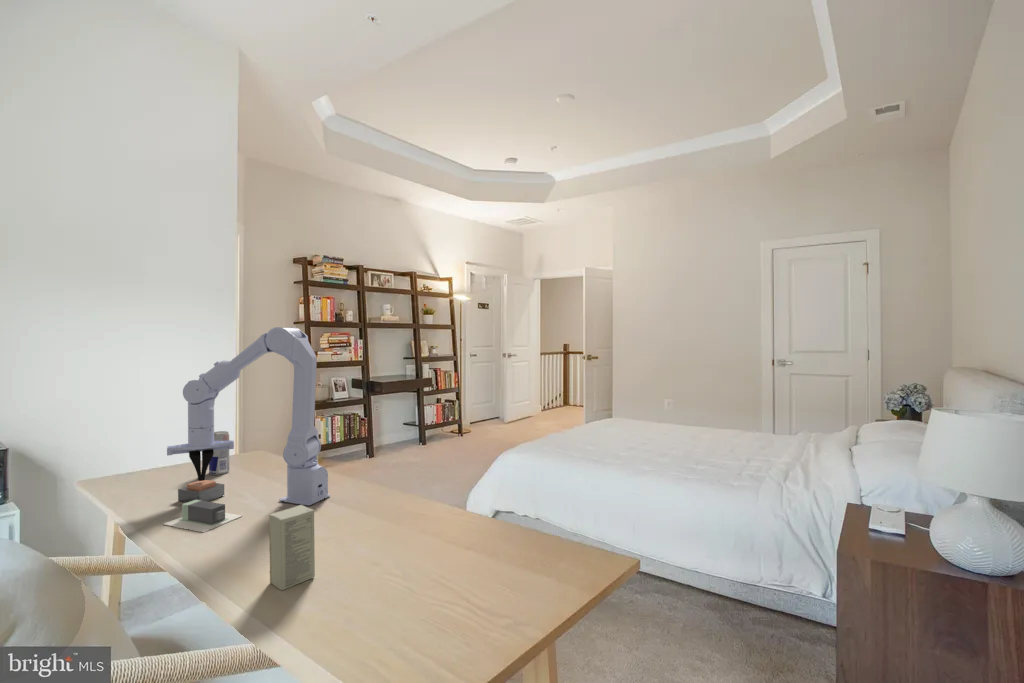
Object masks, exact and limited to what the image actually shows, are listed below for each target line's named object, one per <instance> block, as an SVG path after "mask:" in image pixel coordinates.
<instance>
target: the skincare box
mask: <svg viewBox="0 0 1024 683" xmlns="http://www.w3.org/2000/svg"><path fill="white" fill-rule="evenodd" d="M268 523H269V524H268V525H269V527H268V528H269V529H268V531H269V533H268V535H269V539H268V540H269V583H270V584H272V585H273V586H274V587H276V588H277V589H279V590H280V591H283V590H286V589H289V588H291V587H294V586H296V585H299V584H300V583H304V582H306V581H309V580H310V579H314V578H315V576H316V573H315V572H316V569H315V560H316V559H315V509H312V508H310V507H308V506H307V505H301V504H297V505H296V506H291V507H288V508H286V509H282V510H279V511H275V512H271V513H269V516H268Z"/></svg>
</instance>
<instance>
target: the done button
mask: <svg viewBox="0 0 1024 683" xmlns="http://www.w3.org/2000/svg"><path fill="white" fill-rule="evenodd" d="M216 483H217V482H216V480H210V479H209V480H208V479H205V480H204V481H198V480H197V481H194V482H190V483H187V484H186V487H187V489H192V490H198V491H201V490H204V489H207V488H210V487H213V486H216Z"/></svg>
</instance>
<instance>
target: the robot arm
mask: <svg viewBox="0 0 1024 683" xmlns="http://www.w3.org/2000/svg"><path fill="white" fill-rule="evenodd" d="M268 353H275V354H278V355H280V356H282V357H284V358H285V359H287V361H289V362H290V363H291V364H292V365H293V366H294V368H293V386H292V388H293V392H292V414H291V416H292V418H291V428H290V431H289V433H288V435H287V438H286V439H287V440H286V446H284V449H283V452H282V457H283V460H284V462H285V463H286V465H287V467H286V468H287V469H286V474H287V475H286V476H287V477H286V479H287V482H286V483H287V484H286V486H287V487H286V488H287V490H286V494H287V495H286V496H283V497H281V498H279V502H282V501H284V502H283V503H289V504H296V505H304V506H311V505H314V504H316V503H318V502H321V501H322V499H323V500H325V499H327V498H329V497H331V496H330V495H331V494H330V493H329V472H328V470H327V468H326V467H324V466H322V465H320V464H319V463H318V458H317V456H318V455H319V453H320V452H321V449H322V445H321V442H320V439H319V430H318V429H317V428H316V426H315V416H316V415H315V412H316V391H317V390H316V388H317V387H316V386H317V362H318V359H317V355H316V353H315V351H314V350H313V348H312V345H311V343H310V342H309V336H308V335H307V334H306V333H305V332H303V331H302V330H301V329H299V328H297V327H293V326H290V327H281V326H277V327H273V328H271V329H270V330H268V332H265V333H263V334H262V335H261V334H260V336H259V337H258V338H256V340H254V341H253V342H252V343H251V344H249V345H248V346H247V347H246V348H245V349H243V350H242V351H241V352H240V353H239V354H237V355H236V356H235V357H233V358H232V359H231V360H224V359H223V360H221V361H220V360H219V361H216V362H215V363H213V367H212V368H211V369H209V370H208V371H206V372H205V373H204V372H203V373H201V374H200V375H199V376H198V379H192V380H189V381H188V382H187V383H186V384H185V385H184V387H183V389H182V396H183V398H184V400H185V401H186V402H187V443H183V444H177V445H176V444H175V445H169V446H168V445H167V447H166V455H167V456H173V455H178V454H180V455H183V454H188V457H189V459H190V461H191V462H192V464H193V467H194V468H195V469H194V470H195V471H196V474H197V481H204V480H206V474H207V470H208V469H209V463H210V461H211V459H212V457H213V454H214V452H213V450H222V449H229V450H234V449H235V442H234V441H235V440H233V439H231V440H230V439H229V441H214V432H215V400H216V398H217V397H218V396H219V393H220V392H221V391H223V390H225V388H227V387H228V386H229V385H231V384H233V383H234V382H235V381H237V379H239V378H240V374H241V370H244V369H245V368H246V367H247V366H249V365H250V364H252V363H253V362H255V361H256V360H258V359H259V358H261V357H263V356H264V355H267V354H268ZM324 498H325V499H324ZM320 500H321V501H320Z"/></svg>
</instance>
